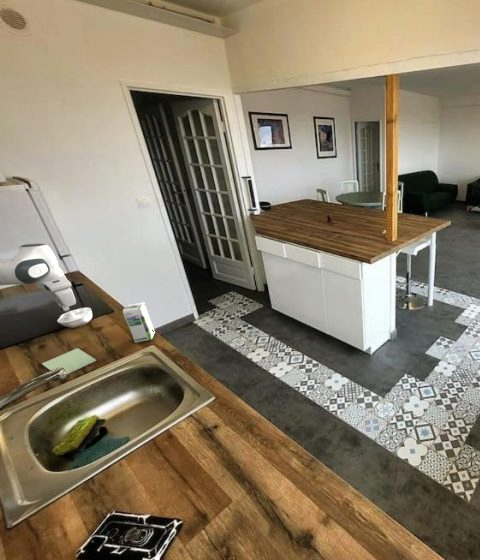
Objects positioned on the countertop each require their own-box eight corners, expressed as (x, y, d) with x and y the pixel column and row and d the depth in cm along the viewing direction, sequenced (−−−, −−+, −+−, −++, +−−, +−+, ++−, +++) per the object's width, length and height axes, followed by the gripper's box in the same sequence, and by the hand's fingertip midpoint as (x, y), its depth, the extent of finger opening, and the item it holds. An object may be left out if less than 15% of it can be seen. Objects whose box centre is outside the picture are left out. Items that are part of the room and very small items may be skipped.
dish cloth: (59, 377, 103) (59, 377, 103) (42, 364, 109) (41, 363, 109) (96, 360, 111) (96, 359, 111) (78, 348, 117) (77, 348, 117)
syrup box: (134, 343, 121) (121, 311, 114) (138, 335, 125) (126, 304, 119) (152, 340, 123) (140, 308, 117) (155, 332, 128) (144, 301, 121)
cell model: (102, 316, 138) (97, 303, 135) (82, 331, 127) (75, 317, 124) (77, 317, 136) (70, 304, 133) (54, 333, 125) (46, 319, 123)
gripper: (30, 278, 129) (45, 307, 135) (51, 289, 121) (66, 319, 127) (50, 273, 134) (64, 300, 140) (72, 283, 126) (86, 312, 132)
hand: (65, 309), depth 133 cm, fingers closed
